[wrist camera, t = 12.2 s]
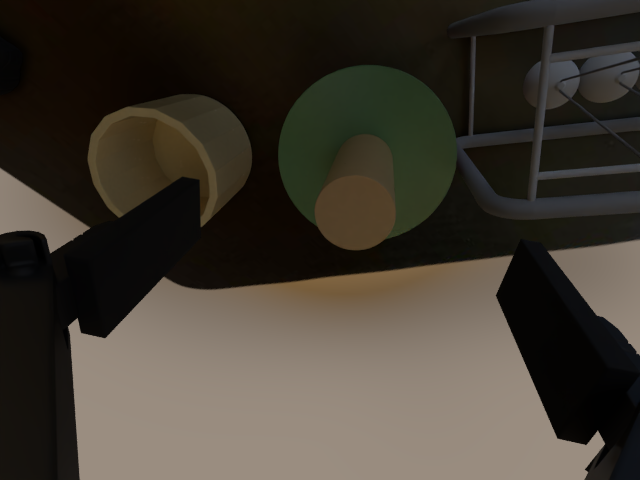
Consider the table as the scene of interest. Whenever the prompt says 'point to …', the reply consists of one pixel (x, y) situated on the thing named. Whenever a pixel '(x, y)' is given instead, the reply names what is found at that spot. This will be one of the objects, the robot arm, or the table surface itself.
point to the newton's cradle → (556, 104)
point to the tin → (169, 152)
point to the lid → (367, 154)
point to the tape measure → (9, 66)
